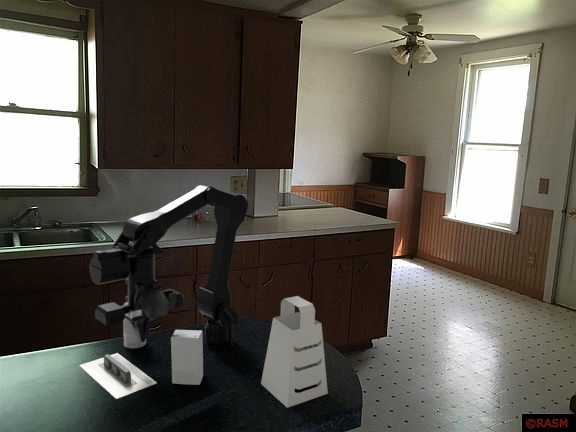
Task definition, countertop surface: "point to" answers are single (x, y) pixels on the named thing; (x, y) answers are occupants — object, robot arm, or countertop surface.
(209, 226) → the countertop surface
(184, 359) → the skincare box
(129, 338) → the energy drink
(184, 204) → the robot arm
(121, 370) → the breaker paddles
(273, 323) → the grater
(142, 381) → the breaker panel
